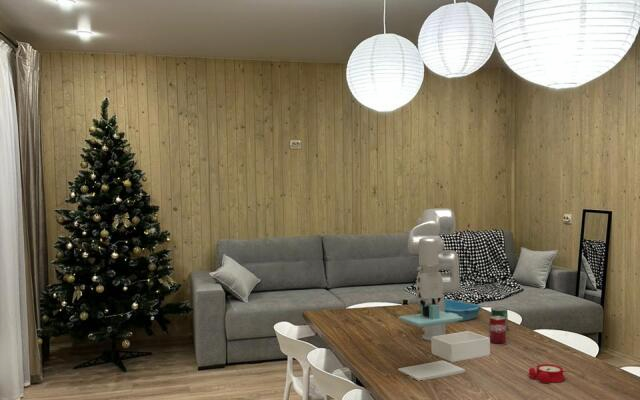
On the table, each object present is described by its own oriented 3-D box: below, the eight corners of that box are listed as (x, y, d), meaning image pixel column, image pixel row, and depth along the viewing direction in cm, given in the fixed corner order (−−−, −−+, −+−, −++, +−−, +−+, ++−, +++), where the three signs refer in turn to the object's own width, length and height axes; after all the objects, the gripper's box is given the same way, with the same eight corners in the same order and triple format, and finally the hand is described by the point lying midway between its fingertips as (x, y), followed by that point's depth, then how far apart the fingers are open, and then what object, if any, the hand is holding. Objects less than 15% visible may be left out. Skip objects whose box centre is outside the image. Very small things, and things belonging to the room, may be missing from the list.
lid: (419, 328, 215) (418, 310, 215) (398, 321, 228) (397, 304, 228) (466, 321, 225) (465, 304, 224) (443, 314, 238) (443, 298, 238)
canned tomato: (506, 328, 291) (505, 306, 291) (509, 332, 283) (509, 310, 283) (490, 328, 292) (489, 307, 292) (493, 332, 284) (492, 310, 284)
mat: (398, 371, 229) (397, 368, 229) (443, 362, 238) (443, 360, 238) (418, 381, 216) (418, 378, 216) (465, 372, 225) (465, 369, 225)
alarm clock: (573, 370, 213) (542, 367, 207) (570, 387, 213) (540, 384, 207) (552, 362, 223) (522, 359, 217) (549, 379, 222) (519, 376, 216)
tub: (451, 363, 236) (451, 344, 236) (431, 355, 249) (431, 336, 248) (490, 356, 244) (489, 337, 244) (468, 348, 257) (468, 330, 257)
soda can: (507, 345, 260) (506, 319, 260) (490, 345, 261) (490, 319, 261) (505, 341, 267) (505, 315, 267) (489, 341, 268) (488, 315, 268)
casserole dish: (411, 314, 331) (411, 301, 331) (439, 308, 344) (439, 296, 344) (460, 325, 301) (460, 312, 301) (489, 319, 313) (488, 306, 313)
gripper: (416, 271, 219) (418, 320, 219) (451, 268, 226) (452, 315, 226) (406, 269, 226) (407, 316, 226) (440, 266, 233) (441, 311, 233)
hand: (429, 315), depth 226 cm, fingers closed on lid, 3 cm apart
